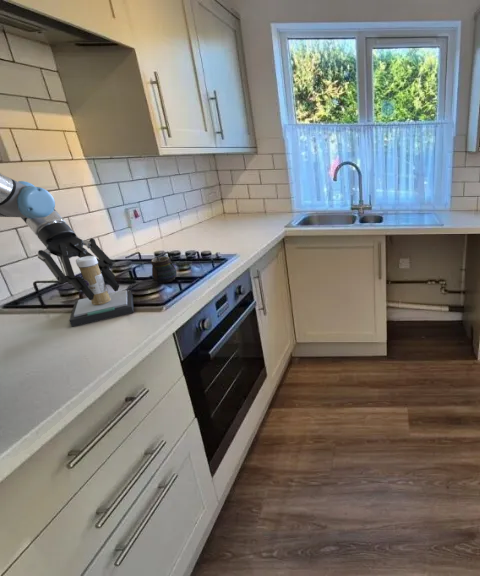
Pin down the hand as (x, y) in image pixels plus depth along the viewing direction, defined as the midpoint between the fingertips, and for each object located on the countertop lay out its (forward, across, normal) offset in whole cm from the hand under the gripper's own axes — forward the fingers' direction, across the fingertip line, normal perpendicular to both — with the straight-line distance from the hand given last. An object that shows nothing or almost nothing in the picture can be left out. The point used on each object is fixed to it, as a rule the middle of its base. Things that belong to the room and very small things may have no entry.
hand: (104, 292), depth 101 cm
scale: (+2, 0, -7) cm, 7 cm away
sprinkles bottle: (0, 0, -5) cm, 5 cm away
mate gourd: (-1, -22, -10) cm, 24 cm away
